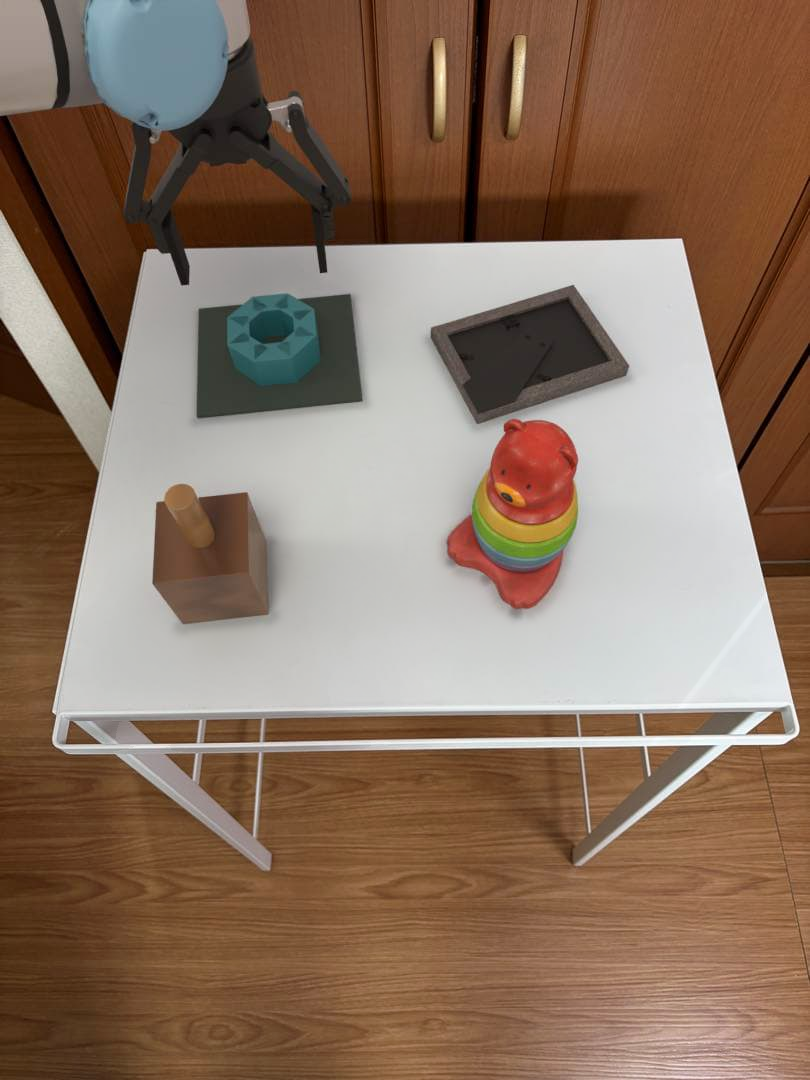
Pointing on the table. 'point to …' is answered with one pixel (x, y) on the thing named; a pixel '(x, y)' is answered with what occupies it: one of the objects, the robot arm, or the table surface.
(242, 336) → the ring
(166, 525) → the ring stand
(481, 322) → the picture frame
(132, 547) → the table surface
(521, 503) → the stacking bear
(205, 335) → the mat
